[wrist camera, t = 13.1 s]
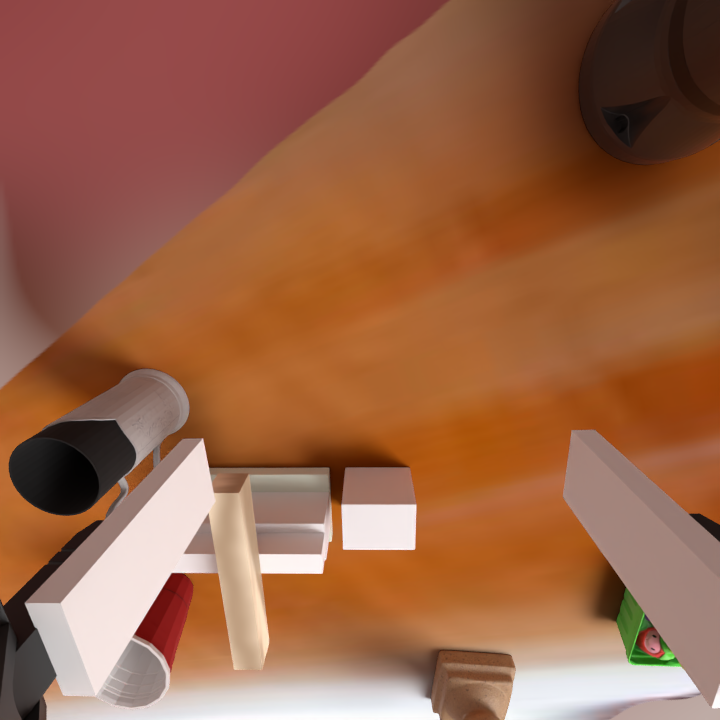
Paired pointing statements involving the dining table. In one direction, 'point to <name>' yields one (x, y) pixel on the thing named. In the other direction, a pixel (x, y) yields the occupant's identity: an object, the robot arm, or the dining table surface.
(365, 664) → the dining table surface
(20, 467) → the glass holder
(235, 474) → the birch batten
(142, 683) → the plastic cup
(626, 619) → the fruit basket
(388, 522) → the rest block
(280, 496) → the ridge stand
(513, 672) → the candle holder
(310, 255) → the dining table surface
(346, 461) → the dining table surface
